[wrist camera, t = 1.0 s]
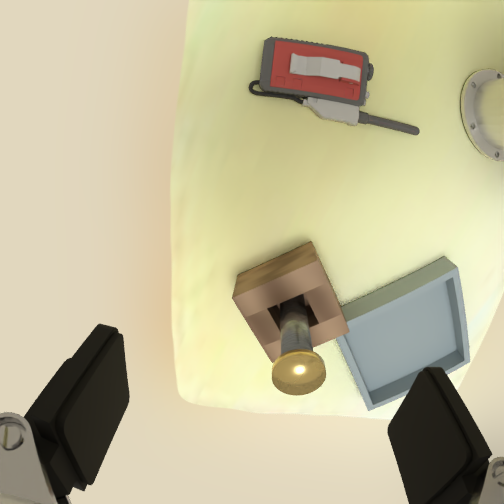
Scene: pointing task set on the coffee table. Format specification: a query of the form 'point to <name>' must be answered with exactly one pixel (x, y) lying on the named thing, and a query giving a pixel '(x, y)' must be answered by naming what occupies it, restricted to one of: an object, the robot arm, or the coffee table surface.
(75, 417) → the robot arm
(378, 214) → the coffee table surface
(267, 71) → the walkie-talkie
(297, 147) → the coffee table surface
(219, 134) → the coffee table surface
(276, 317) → the holder block
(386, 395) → the tray
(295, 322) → the pin
